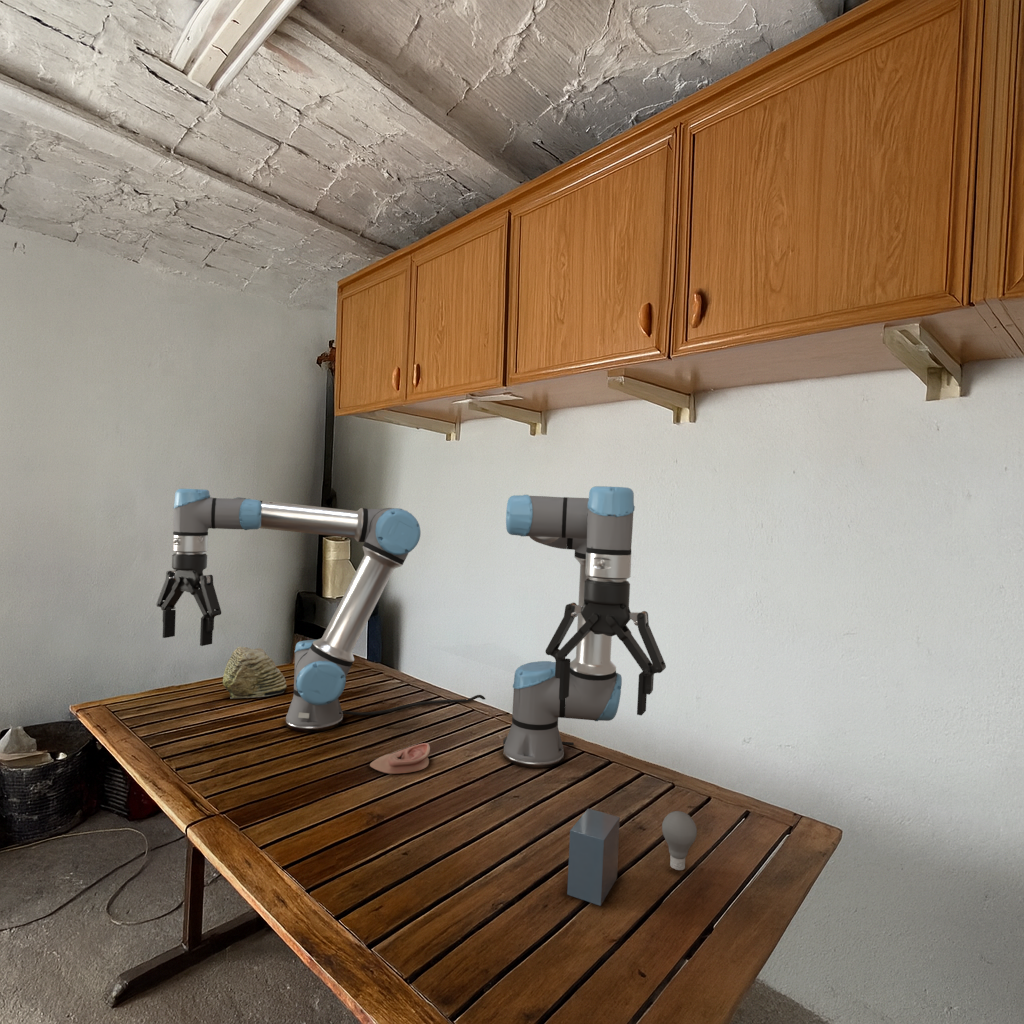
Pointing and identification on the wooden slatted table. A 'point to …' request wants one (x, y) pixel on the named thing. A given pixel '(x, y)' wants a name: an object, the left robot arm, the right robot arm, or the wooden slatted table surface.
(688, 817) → the light bulb
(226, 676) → the fossil
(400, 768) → the anatomical model
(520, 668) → the right robot arm
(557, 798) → the wooden slatted table surface
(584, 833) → the brick
